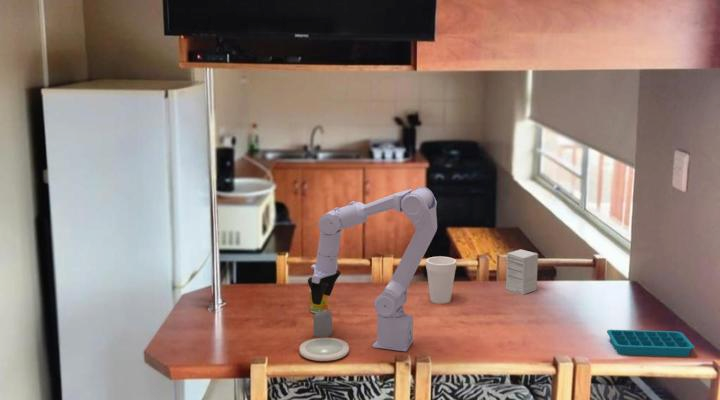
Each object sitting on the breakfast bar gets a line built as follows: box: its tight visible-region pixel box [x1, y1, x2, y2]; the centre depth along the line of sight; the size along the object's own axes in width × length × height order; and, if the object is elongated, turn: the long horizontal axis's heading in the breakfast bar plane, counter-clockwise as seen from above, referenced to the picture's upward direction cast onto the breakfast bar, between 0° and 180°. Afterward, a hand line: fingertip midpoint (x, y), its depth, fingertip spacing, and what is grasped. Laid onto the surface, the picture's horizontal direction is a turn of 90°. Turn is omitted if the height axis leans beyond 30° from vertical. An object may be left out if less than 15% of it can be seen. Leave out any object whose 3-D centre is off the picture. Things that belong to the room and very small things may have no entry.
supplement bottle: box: [309, 288, 329, 314], centre depth 234 cm, size 5×5×10 cm
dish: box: [299, 337, 350, 362], centre depth 203 cm, size 13×13×2 cm
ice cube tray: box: [606, 329, 695, 358], centre depth 206 cm, size 12×20×3 cm, turn 85°
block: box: [313, 311, 333, 338], centre depth 216 cm, size 4×4×6 cm
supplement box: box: [505, 248, 539, 296], centre depth 252 cm, size 7×7×13 cm
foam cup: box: [425, 255, 457, 305], centre depth 242 cm, size 10×9×13 cm
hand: (321, 299), depth 214 cm, fingers open, 7 cm apart
